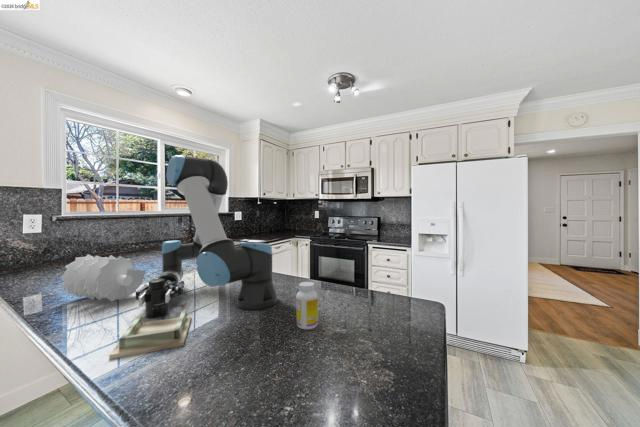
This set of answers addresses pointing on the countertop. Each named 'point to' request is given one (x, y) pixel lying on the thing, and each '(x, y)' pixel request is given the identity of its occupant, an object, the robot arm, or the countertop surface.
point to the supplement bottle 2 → (307, 306)
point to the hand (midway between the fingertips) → (153, 300)
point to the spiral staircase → (102, 277)
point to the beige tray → (152, 336)
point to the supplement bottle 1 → (156, 299)
